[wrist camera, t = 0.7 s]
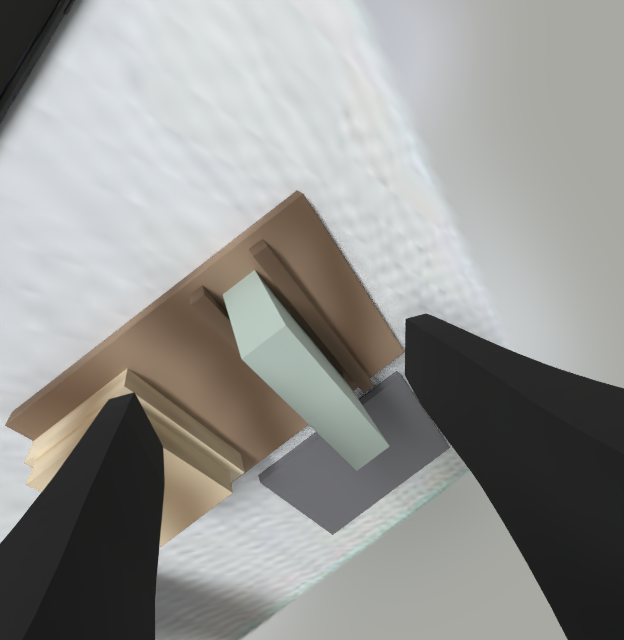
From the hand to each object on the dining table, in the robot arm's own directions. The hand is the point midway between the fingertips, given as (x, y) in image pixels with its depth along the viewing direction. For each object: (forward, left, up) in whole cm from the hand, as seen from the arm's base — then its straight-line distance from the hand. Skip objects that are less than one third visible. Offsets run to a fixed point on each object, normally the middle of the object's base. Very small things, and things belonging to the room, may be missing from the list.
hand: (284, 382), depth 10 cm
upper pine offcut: (-10, -5, -8) cm, 14 cm away
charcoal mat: (-2, -18, -11) cm, 21 cm away
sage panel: (0, -5, -10) cm, 11 cm away
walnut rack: (-4, -5, -11) cm, 13 cm away
